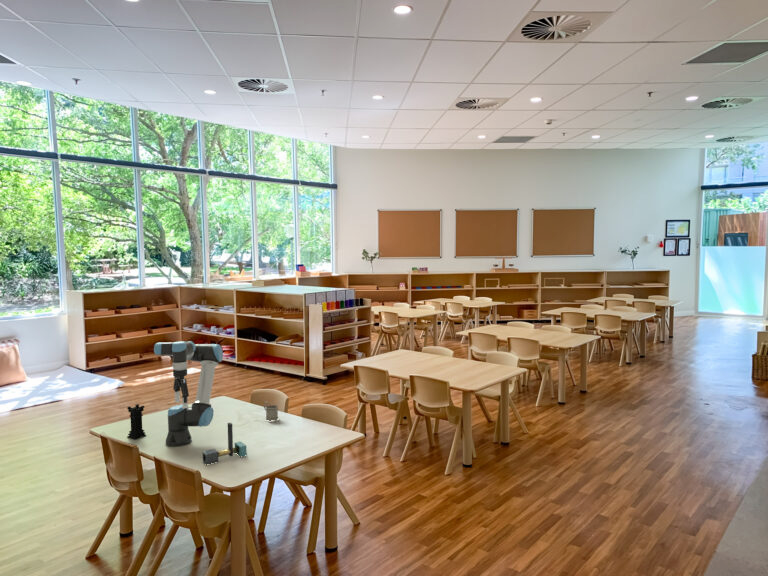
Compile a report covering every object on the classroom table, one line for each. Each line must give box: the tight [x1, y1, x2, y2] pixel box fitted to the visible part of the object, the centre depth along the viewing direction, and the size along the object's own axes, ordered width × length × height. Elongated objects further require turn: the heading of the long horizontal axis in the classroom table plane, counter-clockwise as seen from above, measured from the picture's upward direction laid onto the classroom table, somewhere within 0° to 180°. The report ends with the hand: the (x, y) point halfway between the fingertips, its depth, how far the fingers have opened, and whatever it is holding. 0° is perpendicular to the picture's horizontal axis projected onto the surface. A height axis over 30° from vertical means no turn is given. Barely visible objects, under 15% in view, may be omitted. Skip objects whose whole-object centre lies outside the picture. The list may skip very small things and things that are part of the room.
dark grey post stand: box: [218, 422, 239, 458], centre depth 292 cm, size 3×16×19 cm, turn 129°
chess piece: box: [126, 403, 147, 441], centre depth 328 cm, size 8×8×20 cm
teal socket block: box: [233, 440, 248, 458], centre depth 298 cm, size 9×4×6 cm, turn 39°
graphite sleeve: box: [202, 448, 219, 466], centre depth 287 cm, size 5×7×6 cm
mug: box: [263, 401, 279, 421], centre depth 362 cm, size 14×10×12 cm
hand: (181, 405), depth 290 cm, fingers open, 13 cm apart
